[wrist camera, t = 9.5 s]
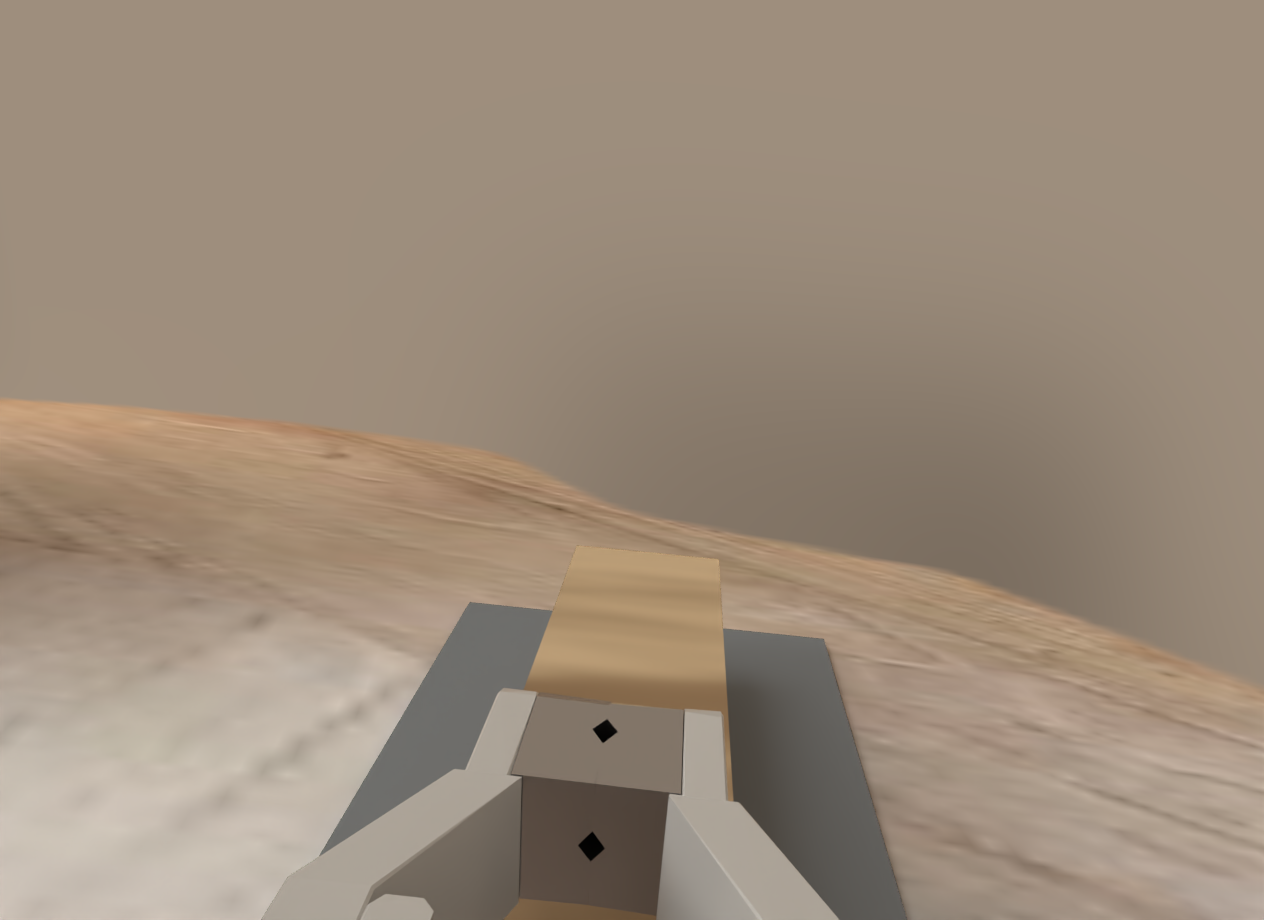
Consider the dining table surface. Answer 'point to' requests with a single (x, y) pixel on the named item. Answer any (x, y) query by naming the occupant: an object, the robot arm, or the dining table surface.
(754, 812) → the felt mat
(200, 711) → the dining table surface
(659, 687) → the oak block
